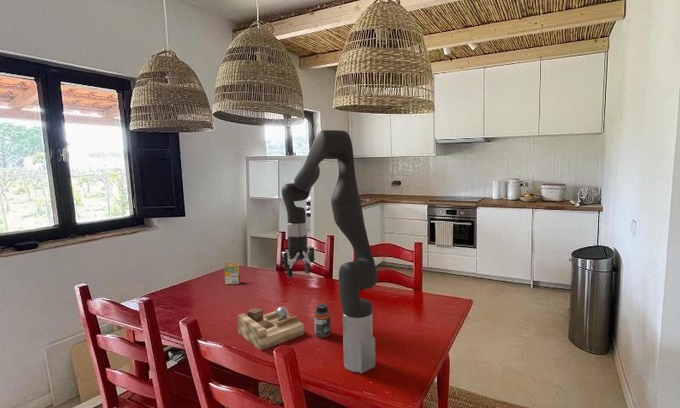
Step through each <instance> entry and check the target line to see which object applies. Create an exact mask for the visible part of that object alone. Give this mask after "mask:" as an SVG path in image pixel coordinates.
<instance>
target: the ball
mask: <svg viewBox="0 0 680 408" xmlns="http://www.w3.org/2000/svg"><path fill="white" fill-rule="evenodd" d="M275 311H276V312H275ZM275 311H274V312H275V315H276V318H277V319H279V320H284V319H286V318H287V317H288V315H289V310H288V308H287V307H285V306H279V307H278V308H277V309H276V310H275Z"/></svg>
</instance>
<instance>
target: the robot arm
mask: <svg viewBox="0 0 680 408" xmlns="http://www.w3.org/2000/svg"><path fill="white" fill-rule="evenodd" d="M353 148H354V147H353V143H352V139H351V137H350V134H349V133H348V132H347V131H345V130H339V129H338V130H337V129H336V130H334V129H323V130H321V131H319V132H318V133H317V134H316V136H315V138H314V139H313V142H312V144H311V147H310V149H309V152H308V154H307V156H306V159H305V161H304V163H303V165H302V166H301V169H299V171H298V172H297V173H296V175H295V177H294V180H293V182H290V183H286V184H284V185H283V186H282V188H281V195H282V196H281V197H282V199H283V202H284V205H285V209H286V213H287V230H286V231H287V232H286V233H287V247H288V250H287V251H281V253H280V255H281V267H282V268H285V269H286V276H287V277H288V278H293V266H294V264H296V262H297V261H299V260H300V261H301V260H303V261H304V272H305V273H306V274H310V272H311V264H312V263H313V262H315V247H313V246H310V245H309V246H308V228H307V221H306V220H307V219H306V218H307V215H306V214H307V213H306V209H305V208H304V207H302V206H297V205H296V204H295V202H301V201H305V200H307V199H308V198H309V197H310V193H311V191H312V188H313V186H314V185H315V183H316V182H317V181H318V179H319V177H320V175H321V169H320V164H321V162H323V161H324V160H337V165H338V178H337V181H336V184H335V187H334V189H333V192H332V196H331V200H330V202H331V207H332V208H331V210H332V214H333V220H334V222H335V225H336V226H337V228H338V229H339V230H340V232H341V233H343V235H344V236H345V237H346V239H347V240H348V241H349V244H351V246H352V250H353V252H354V253H353V254H354V258H355V260H353V261H349V262H345V263H343V264H341V265H340V267H339V270H338V284H339V285H338V287H339V299H340V304H341V308H342V309H341V311H342V340H343V341H342V342H343V343H342V344H343V345H342V347H343V348H342V349H343V350H342V351H343V366H344V368H345V369H346V370H348V371H349V372H353V373H358V374H360V375H361V374H363V373H366V372H368V371H370V370H372V369H374V368H376V338H375V336H373V304H372V302H371V301H370V300H368V299H366V298H363V297H362V298H361V297H360V296H361V295H360V292H361V291H364V290H369V289H372V288H374V287H375V286H376V285H377V282H378V270H377V265H376V263H375V262H376V261H375V259H374V255H373V252H372V249H371V246H370V242H369V238H368V233H367V230H366V224H365V219H364V213H363V207H362V201H361V198H360V193H359V187H358V182H357V176H356V169H355V160H354V158H355V157H354V150H353ZM307 253H308V254H307Z"/></svg>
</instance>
